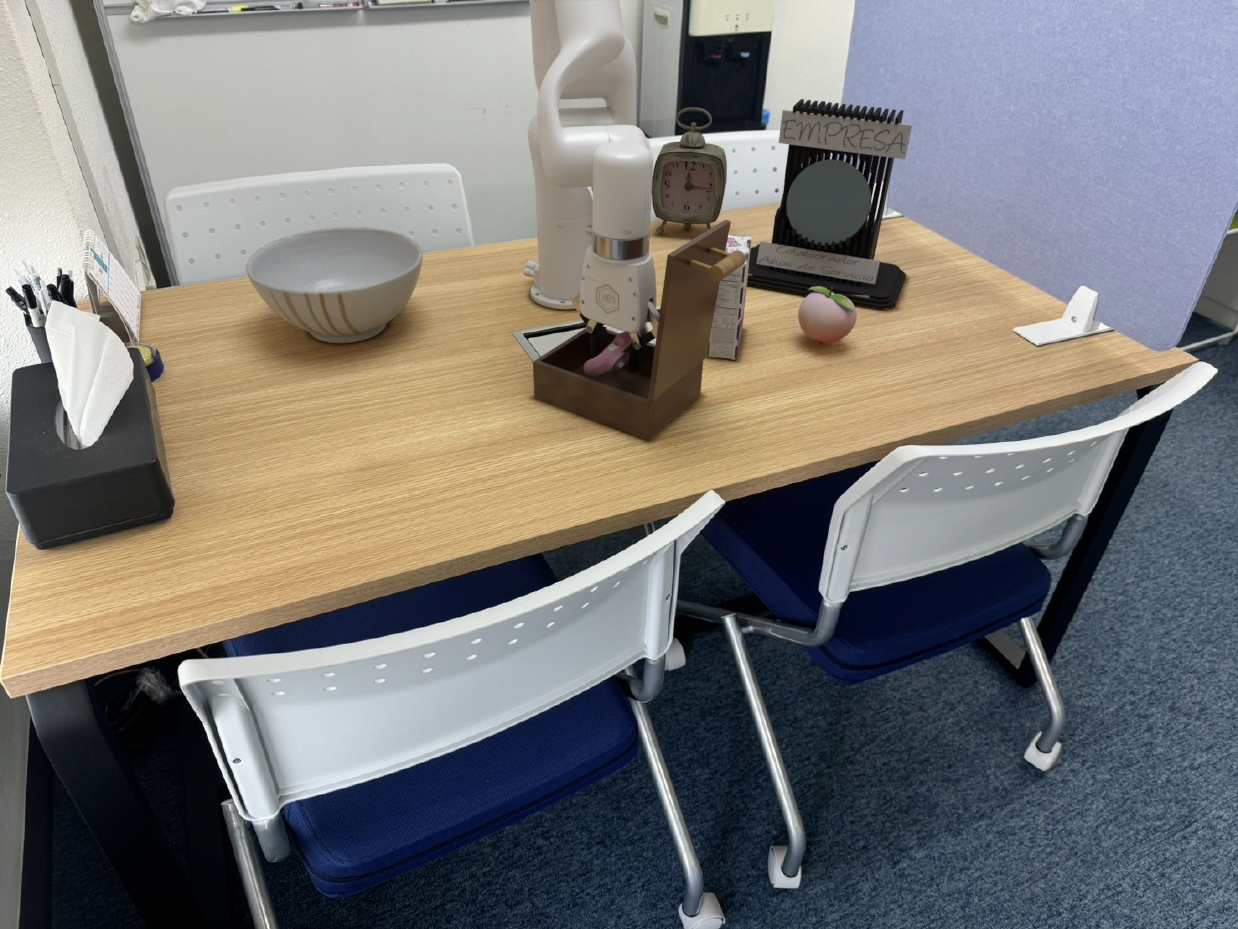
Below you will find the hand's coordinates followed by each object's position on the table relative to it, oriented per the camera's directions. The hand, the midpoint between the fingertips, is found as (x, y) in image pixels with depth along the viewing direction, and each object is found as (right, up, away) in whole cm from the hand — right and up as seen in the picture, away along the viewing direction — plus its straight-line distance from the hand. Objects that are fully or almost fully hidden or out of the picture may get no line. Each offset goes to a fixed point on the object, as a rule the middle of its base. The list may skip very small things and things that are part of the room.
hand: (617, 360), depth 124 cm
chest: (0, -5, +3) cm, 6 cm away
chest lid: (+9, +5, -11) cm, 15 cm away
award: (+38, +20, +40) cm, 58 cm away
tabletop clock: (+14, +34, +58) cm, 68 cm away
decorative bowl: (-45, +8, +20) cm, 49 cm away
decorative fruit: (+33, +5, +18) cm, 38 cm away
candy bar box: (+17, +5, +17) cm, 25 cm away
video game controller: (0, -1, +1) cm, 1 cm away
